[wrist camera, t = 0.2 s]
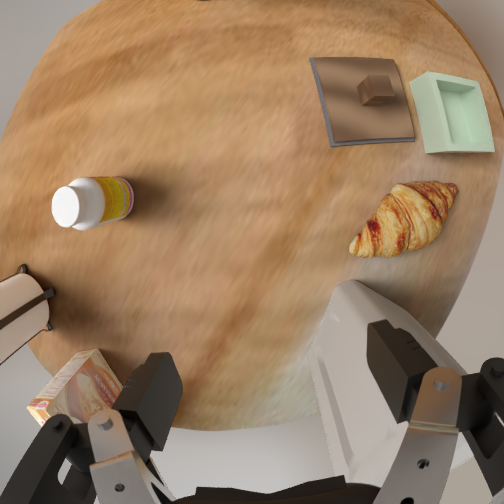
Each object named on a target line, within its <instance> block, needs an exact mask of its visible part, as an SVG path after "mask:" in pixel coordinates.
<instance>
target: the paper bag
mask: <svg viewBox="0 0 504 504" xmlns="http://www.w3.org/2000/svg"><path fill="white" fill-rule="evenodd" d="M383 319H387V320H388V321H389V322H390V324H391V325H392V326H393V327H394V328H395V329H396V328H402V329H404V330H406V331H408V332H410V333H411V335H412V336H413V337H414V338H415V339H416V341H418V343H419V344H420V345H421V347H423V348H424V349H425V351H426V352H427V353H428V354H429V355H430V357H431V358H432V359H433V360H434V361H435V362H436V364H437V365H438V366H439V367H449V368H452V369H454V370H456V371H457V372H458V373H459V374H460V376H463V375H468V374H467V372H466V371H465V370H464V369H463V368H462V367H461V366H460V365H459V364H458V363H457V362H456V360H455V359H454V358H453V357H452V356H451V355H450V354H449V353H448V352H447V351H446V350H445V349H444V348H443V347H442V346H441V345H440V344H439V343H438V342H437V340H435V338H434V337H433V336H432V335H431V334H430V333H429V332H428V331H427V330H426V329H425V328H424V327H423V326H422V325H421V324H420V323H419V322H418V321H417V320H416V319H415V318H414V317H413V316H412V315H411V314H410V313H408V312H407V311H406V310H405V309H403V308H402V307H400V306H398V305H397V304H395V303H393V302H392V301H390V300H388V299H387V298H385V297H383V296H382V295H380V294H378V293H376V292H375V291H373V290H371V289H370V288H368V287H366V286H365V285H363V284H361V283H359V282H358V281H356V280H348V281H346V282H344V283H341V284H339V285H338V286H337V287H336V288H335V290H334V292H333V294H332V297H331V300H330V302H329V305H328V307H327V310H326V312H325V315H324V317H323V320H322V322H321V324H320V327H319V329H318V332H317V334H316V336H315V339H314V341H313V343H312V345H311V348H310V350H309V352H308V355H307V358H308V362H309V366H310V370H311V374H312V378H313V382H314V387H315V391H316V395H317V399H318V403H319V408H320V412H321V416H322V421H323V425H324V429H325V434H326V439H327V443H328V447H329V452H330V457H331V462H332V467H333V471H334V476H335V477H336V476H340V475H344V476H345V481H346V483H350V482H354V483H365V484H371V485H375V486H378V487H382V485H383V483H384V481H385V479H386V477H387V475H388V473H389V471H390V469H391V467H392V465H393V462H394V460H395V458H396V456H397V453H398V451H399V448H400V446H401V443H402V441H403V438H404V436H405V433H406V430H407V428H408V425H409V424H408V422H407V421H405V422H402V423H399V424H397V423H396V421H395V419H394V417H393V415H392V413H391V411H390V409H389V406H388V404H387V402H386V400H385V398H384V396H383V395H382V393H381V391H380V389H379V387H378V385H377V383H376V381H375V379H374V377H373V375H372V373H371V371H370V369H369V367H368V363H367V357H366V351H367V326H368V324H369V323H371V322H375V321H379V320H383ZM495 415H496V416H497V418H498V419H499V420H500V422H501V424H502V425H504V423H503V422H502V420H501V419H500V417H499V416H498V414H497V413H496V414H495ZM473 456H474V455H473V453H472V451H471V449H470V447H469V445H468V443H467V441H466V439H465V437H464V436H463V434H462V432H459V434H458V439H457V444H456V448H455V453H454V457H453V461H452V464H451V468H450V471H451V470H453V469H454V468H456V467H458V466H460V465H461V464H463V463H464V462H466V461H467V460H469V459H470V458H472V457H473Z"/></svg>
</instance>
